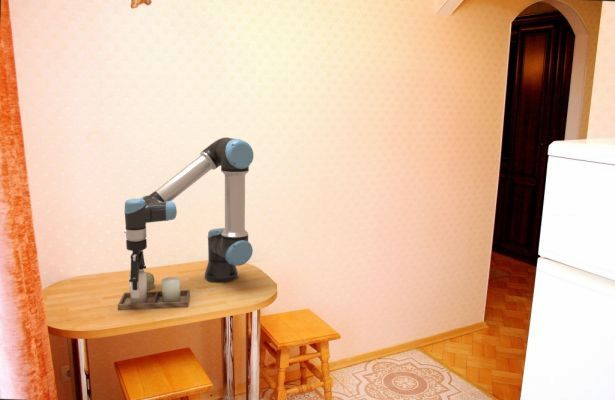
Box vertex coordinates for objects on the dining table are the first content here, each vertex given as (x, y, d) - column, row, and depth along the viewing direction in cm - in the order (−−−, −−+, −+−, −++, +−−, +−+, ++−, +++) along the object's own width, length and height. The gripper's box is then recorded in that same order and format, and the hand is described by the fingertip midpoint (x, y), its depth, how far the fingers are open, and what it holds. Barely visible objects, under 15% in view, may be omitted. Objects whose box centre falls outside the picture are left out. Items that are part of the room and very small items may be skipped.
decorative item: (140, 302, 220) (153, 285, 217) (122, 287, 220) (135, 270, 218) (151, 295, 229) (163, 278, 226) (134, 280, 229) (146, 264, 227)
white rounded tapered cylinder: (148, 299, 211) (147, 270, 209) (146, 305, 205) (144, 276, 202) (131, 300, 210) (130, 271, 208) (129, 306, 204) (127, 276, 201)
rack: (189, 297, 217) (189, 290, 216) (187, 309, 204) (187, 302, 203) (124, 299, 213) (124, 292, 212) (118, 312, 200) (117, 305, 199)
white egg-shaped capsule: (181, 297, 213) (180, 276, 211) (179, 304, 206) (179, 282, 205) (163, 298, 212) (162, 277, 210) (161, 305, 205) (160, 283, 204)
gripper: (131, 231, 214) (133, 280, 218) (120, 248, 190) (123, 303, 194) (150, 230, 215) (152, 279, 219) (141, 247, 191) (144, 302, 195)
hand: (138, 291), depth 206 cm, fingers open, 13 cm apart
